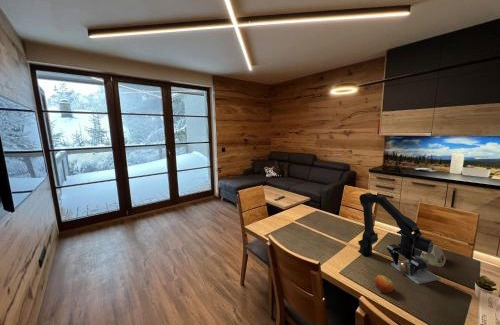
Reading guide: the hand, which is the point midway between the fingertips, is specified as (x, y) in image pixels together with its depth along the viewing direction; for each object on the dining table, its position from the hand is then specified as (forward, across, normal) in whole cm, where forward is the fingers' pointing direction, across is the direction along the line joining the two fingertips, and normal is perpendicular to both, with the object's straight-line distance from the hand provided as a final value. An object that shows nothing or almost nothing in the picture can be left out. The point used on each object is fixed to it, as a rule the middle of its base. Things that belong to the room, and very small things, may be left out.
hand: (403, 270), depth 114 cm
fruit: (+2, -7, +20) cm, 21 cm away
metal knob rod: (+1, 0, -7) cm, 7 cm away
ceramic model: (+3, +6, -28) cm, 28 cm away
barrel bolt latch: (+2, 0, -7) cm, 7 cm away
